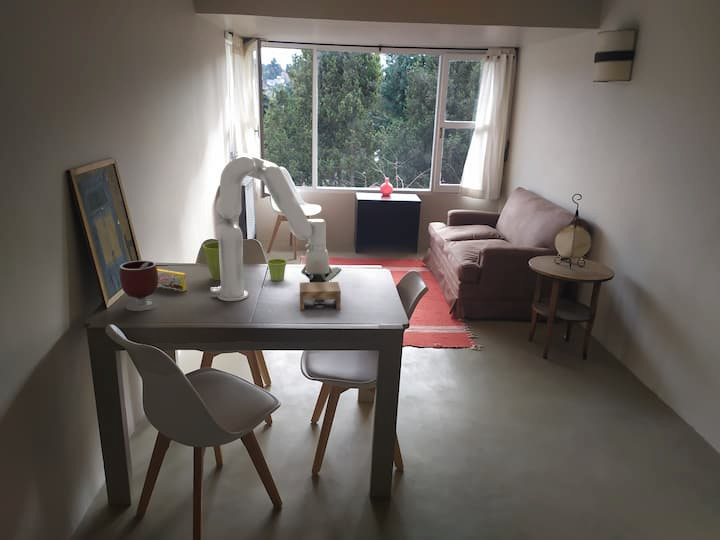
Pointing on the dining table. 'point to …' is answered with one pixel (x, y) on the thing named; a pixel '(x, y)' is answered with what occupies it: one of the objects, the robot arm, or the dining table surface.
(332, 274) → the stone slab
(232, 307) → the dining table surface
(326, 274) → the robot arm
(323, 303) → the steel disc
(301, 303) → the walnut shelf
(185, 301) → the dining table surface
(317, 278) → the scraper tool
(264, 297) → the dining table surface
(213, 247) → the flower pot
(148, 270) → the mate gourd
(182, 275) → the candy box
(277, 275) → the plant pot
